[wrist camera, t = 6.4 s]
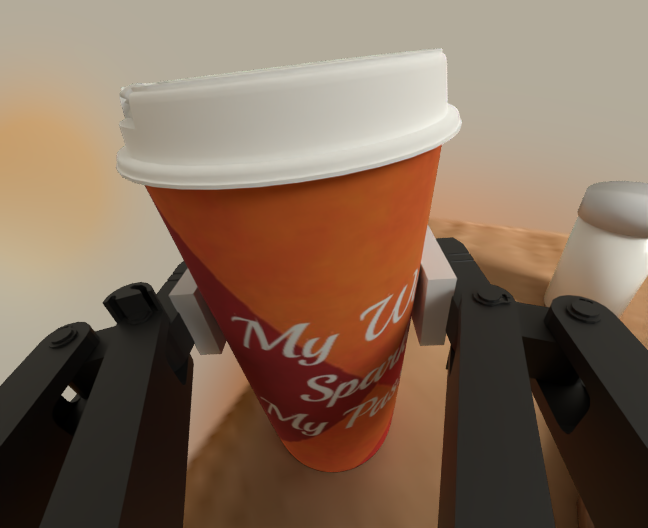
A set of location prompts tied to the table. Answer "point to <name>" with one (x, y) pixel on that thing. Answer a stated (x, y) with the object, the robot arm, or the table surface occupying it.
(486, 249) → the table surface
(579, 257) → the salt shaker
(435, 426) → the table surface
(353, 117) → the paper cup
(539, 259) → the table surface
